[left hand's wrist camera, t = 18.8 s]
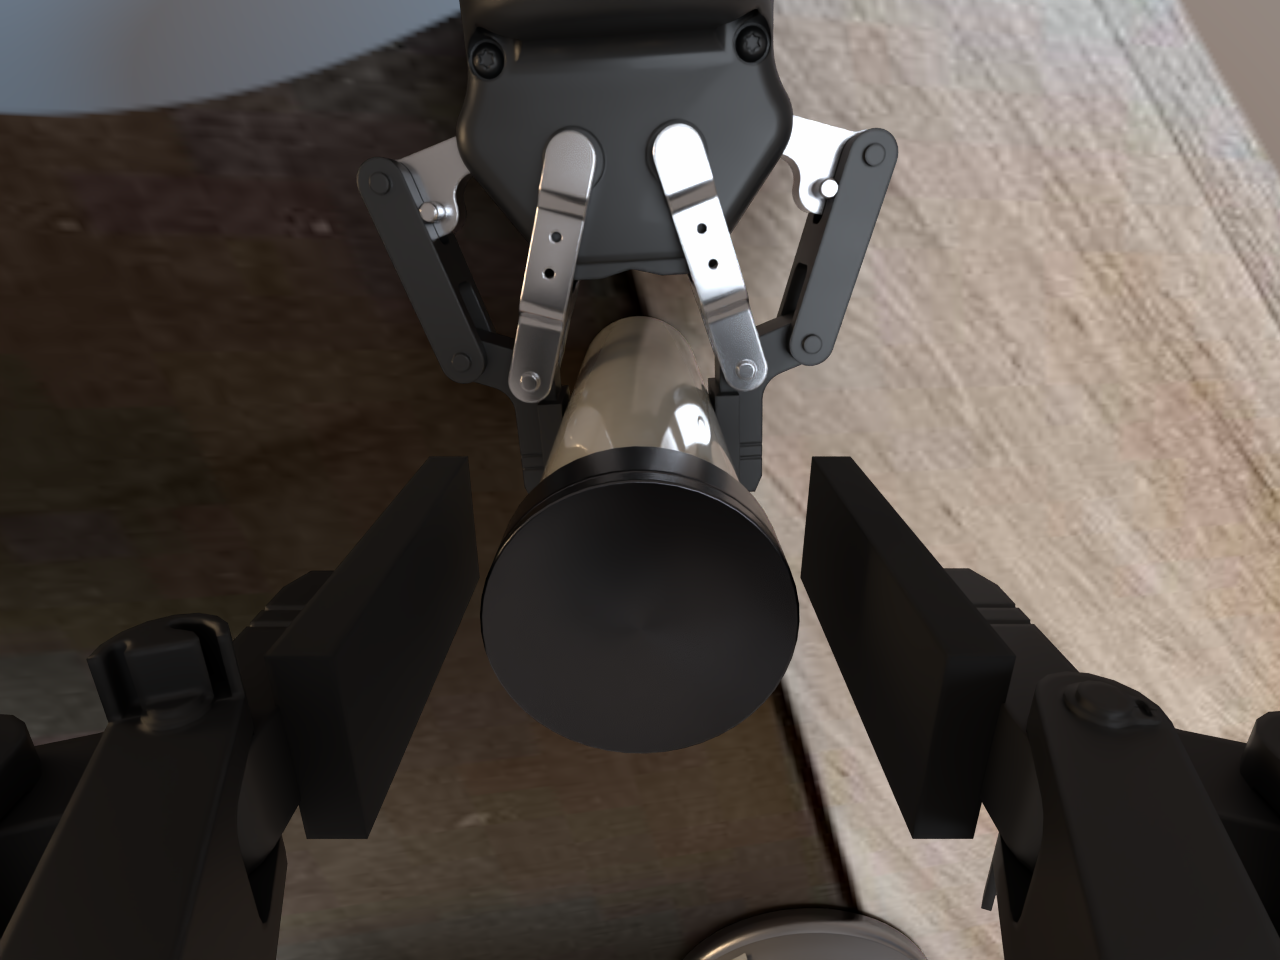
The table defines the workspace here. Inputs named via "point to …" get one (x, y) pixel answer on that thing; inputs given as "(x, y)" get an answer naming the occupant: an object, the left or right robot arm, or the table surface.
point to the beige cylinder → (639, 398)
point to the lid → (639, 602)
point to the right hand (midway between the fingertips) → (645, 503)
